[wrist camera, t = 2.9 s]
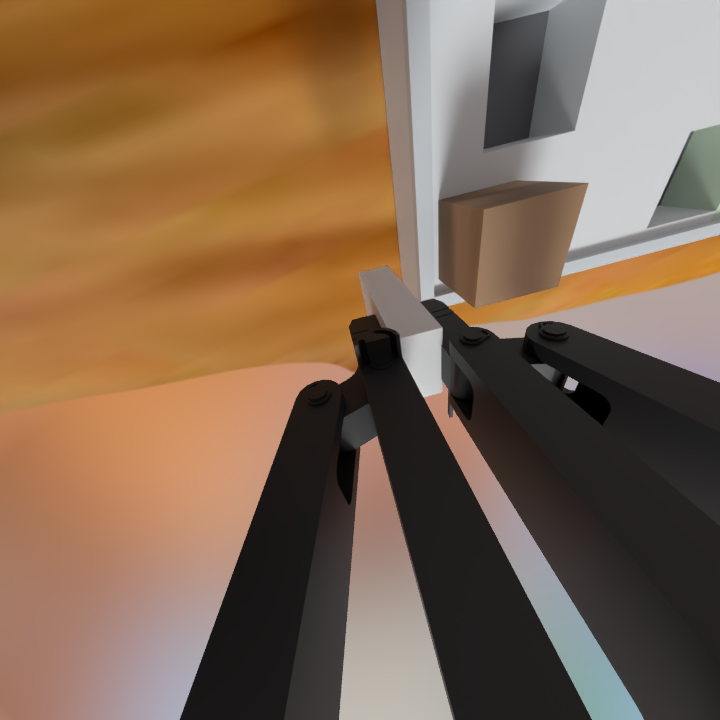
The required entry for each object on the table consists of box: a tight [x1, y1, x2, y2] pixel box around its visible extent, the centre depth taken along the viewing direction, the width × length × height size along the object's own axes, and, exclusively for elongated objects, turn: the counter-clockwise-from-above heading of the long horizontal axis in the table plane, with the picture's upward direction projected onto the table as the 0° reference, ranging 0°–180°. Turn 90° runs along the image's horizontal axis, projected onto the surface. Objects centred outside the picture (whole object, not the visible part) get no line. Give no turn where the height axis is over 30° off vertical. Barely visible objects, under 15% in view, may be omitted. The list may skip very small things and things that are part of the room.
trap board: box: [376, 0, 720, 306], centre depth 16 cm, size 30×16×5 cm, turn 101°
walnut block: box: [438, 180, 589, 308], centre depth 15 cm, size 5×5×5 cm
